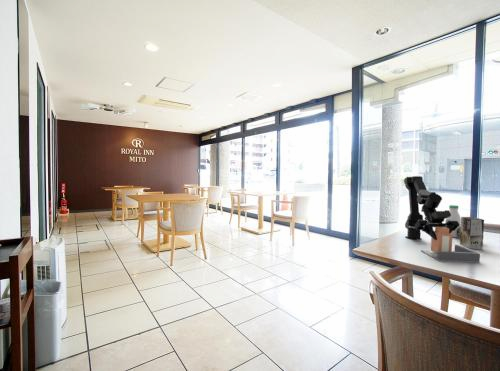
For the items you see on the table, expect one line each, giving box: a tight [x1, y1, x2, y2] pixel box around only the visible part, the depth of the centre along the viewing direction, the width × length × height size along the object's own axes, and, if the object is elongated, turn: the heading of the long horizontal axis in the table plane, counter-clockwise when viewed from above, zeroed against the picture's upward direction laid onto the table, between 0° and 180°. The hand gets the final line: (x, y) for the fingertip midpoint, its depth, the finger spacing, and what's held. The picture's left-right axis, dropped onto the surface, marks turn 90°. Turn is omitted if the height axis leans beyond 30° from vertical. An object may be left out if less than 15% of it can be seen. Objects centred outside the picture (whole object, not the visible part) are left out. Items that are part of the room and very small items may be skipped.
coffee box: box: [459, 216, 485, 250], centre depth 142 cm, size 9×6×16 cm
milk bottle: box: [444, 204, 461, 238], centre depth 165 cm, size 8×8×20 cm
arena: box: [421, 244, 481, 264], centre depth 125 cm, size 14×18×4 cm
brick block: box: [430, 227, 453, 253], centre depth 126 cm, size 6×6×12 cm
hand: (443, 240), depth 125 cm, fingers closed on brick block, 6 cm apart
